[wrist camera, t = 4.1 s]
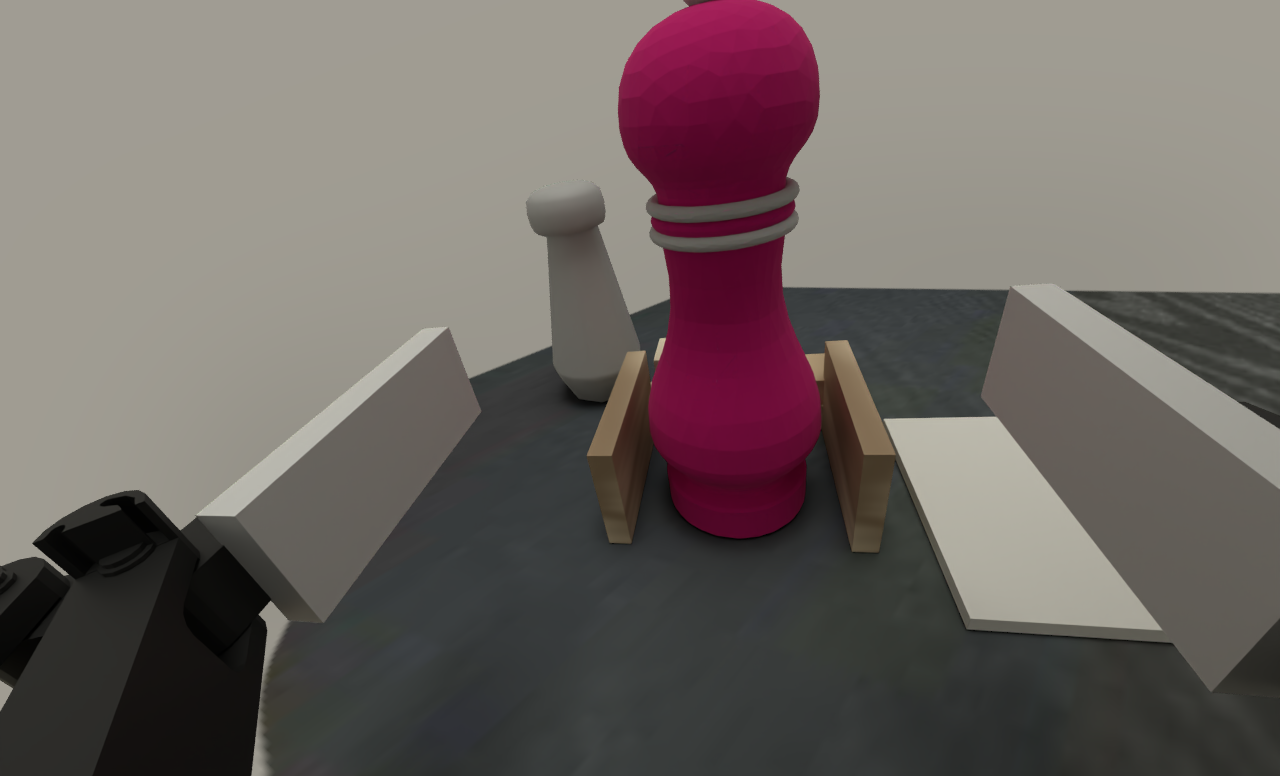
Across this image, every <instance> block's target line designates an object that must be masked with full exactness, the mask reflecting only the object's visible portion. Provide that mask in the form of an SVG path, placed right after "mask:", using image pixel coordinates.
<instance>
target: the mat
mask: <svg viewBox="0 0 1280 776" xmlns="http://www.w3.org/2000/svg"><path fill="white" fill-rule="evenodd" d="M883 426H884V428H885V430H886V433H887V435H888V437H889V440H890V442H891V444H892V447H893V449H894V451H895V454H896V457H895V459H896V462H897V464H898V467H899V469H900V471H901V474H902V476H903V479H904V481H905V483H906V486H907V488H908V491H909V493H910V495H911V498H912V500H913V502H914V505H915V507H916V510H917V512H918V514H919V517H920V519H921V522H922V524H923V526H924V529H925V531H926V533H927V536H928V538H929V541H930V543H931V545H932V548H933V550H934V553H935V555H936V557H937V560H938V562H939V565H940V567H941V569H942V572H943V574H944V576H945V579H946V581H947V584H948V586H949V588H950V591H951V593H952V596H953V598H954V600H955V603H956V605H957V608H958V610H959V612H960V615H961V617H962V619H963V622H964V624H965V627H966V629H969V630H985V631H1000V632H1015V633H1030V634H1045V635H1061V636H1076V637H1091V638H1106V639H1121V640H1137V641H1152V642H1167V643H1172V642H1171V640H1170V639H1169V638H1168V636H1167V635H1166V634H1165V633H1164V631H1163V630H1162V629H1161V627H1160V626H1159V625H1158V624H1157V622H1156V621H1155V620H1154V618H1153V617H1152V616H1151V615H1150V613H1149V612H1148V611H1147V609H1146V608H1145V607H1144V606H1143V604H1142V603H1141V602H1140V600H1139V599H1138V598H1137V597H1136V595H1135V594H1134V593H1133V591H1132V590H1131V589H1130V588H1129V586H1128V585H1127V584H1126V582H1125V581H1124V580H1123V579H1122V577H1121V576H1120V575H1119V573H1118V572H1117V571H1116V570H1115V568H1114V567H1113V566H1112V564H1111V563H1110V562H1109V561H1108V559H1107V558H1106V557H1105V555H1104V554H1103V553H1102V552H1101V550H1100V549H1099V548H1098V546H1097V545H1096V544H1095V543H1094V541H1093V540H1092V539H1091V537H1090V536H1089V535H1088V534H1087V532H1086V531H1085V530H1084V528H1083V527H1082V526H1081V525H1080V523H1079V522H1078V521H1077V519H1076V518H1075V517H1074V516H1073V514H1072V513H1071V512H1070V510H1069V509H1068V508H1067V507H1066V505H1065V504H1064V503H1063V501H1062V500H1061V499H1060V498H1059V496H1058V495H1057V494H1056V492H1055V491H1054V490H1053V489H1052V487H1051V486H1050V485H1049V483H1048V482H1047V481H1046V480H1045V478H1044V477H1043V476H1042V474H1041V473H1040V472H1039V471H1038V469H1037V468H1036V467H1035V465H1034V464H1033V463H1032V462H1031V460H1030V459H1029V458H1028V456H1027V455H1026V454H1025V453H1024V451H1023V450H1022V449H1021V447H1020V446H1019V445H1018V444H1017V442H1016V441H1015V440H1014V438H1013V437H1012V436H1011V435H1010V433H1009V432H1008V431H1007V429H1006V428H1005V427H1004V426H1003V424H1002V423H1001V422H1000V420H999V419H998V418H997V417H960V418H907V419H884V421H883Z"/></svg>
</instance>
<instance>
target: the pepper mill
mask: <svg viewBox="0 0 1280 776" xmlns="http://www.w3.org/2000/svg"><path fill="white" fill-rule="evenodd" d="M684 2H685V3H686V4H687V5H689V7H687V8H684V9H682V10H680V11H677V12H675V13H673V14H672V15H670V16H669V17H667V18H666V19H664V20H663V21H661V22H660V23H658V24H657V25H655V26H654V27H652V29H651V30H650V31H649V32H648V33H647V34H646V35H645V36H644V37H643V38H642V39H641V40H640V41H639V43H638V44H637V45H636V47H635V49H634V50H633V52H632V54H631V56H630V57H629V59H628V61H627V63H626V65H625V68H624V72H623V75H622V79H621V83H620V86H619V102H618V117H619V129H620V134H621V138H622V142H623V145H624V148H625V150H626V153H627V155H628V157H629V159H630V160H631V161H632V163H633V164H634V165H635V167H636V168H637V169H638V170H639V171H640V172H641V173H642V174H643V175H644V176H645V177H646V178H647V179H648V181H649V182H650V183H651V184H652V185H653V188H654V190H655V192H656V194H655V195H654V196H652V197H651V198H650V199H649V200H648V202H647V204H646V210H647V212H648V214H649V215H651V216H652V218H651V224H652V227H651V230H650V238H651V240H652V241H653V242H654V243H655V244H656V245H658V246H660V247H663V249H664V254H665V259H666V265H667V270H668V274H669V284H670V285H669V286H670V304H671V309H670V317H669V325H668V333H667V336H666V340H665V344H664V347H663V351H662V354H661V356H660V359H659V362H658V365H657V368H656V371H655V374H654V377H653V380H652V384H651V391H650V397H649V405H648V412H649V428H650V433H651V437H652V439H653V442H654V445H655V447H656V449H657V450H658V452H659V453H660V454H661V456H662V457H663V458H664V459H665V460H666V461H667V462H668V464H667V472H668V478H669V484H670V491H671V497H672V500H673V503H674V505H675V507H676V509H677V510H678V511H679V513H680V514H681V515H682V516H683V517H684V518H685V519H686V520H687V521H688V522H689V523H690V524H692V525H694V526H696V527H697V528H699V529H701V530H703V531H705V532H708V533H711V534H713V535H716V536H723V537H730V538H737V539H740V538H750V537H759V536H762V535H765V534H768V533H771V532H774V531H776V530H778V529H779V528H781V527H783V526H784V525H786V524H787V523H789V522H790V521H791V520H792V519H793V518H794V517H795V516H796V514H797V513H798V512H799V511H800V508H801V506H802V504H803V502H804V498H805V490H806V460H805V458H806V457H807V456H808V455H809V454H810V452H811V451H812V450H813V448H814V446H815V444H816V442H817V440H818V438H819V435H820V431H821V401H820V394H819V390H818V387H817V383H816V380H815V376H814V373H813V370H812V368H811V366H810V364H809V362H808V360H807V358H806V356H805V354H804V352H803V350H802V348H801V345H800V343H799V341H798V339H797V337H796V335H795V332H794V330H793V327H792V325H791V322H790V320H789V317H788V313H787V309H786V305H785V301H784V296H783V288H782V270H781V263H782V254H783V247H784V246H783V245H784V237H785V235H786V234H788V233H789V232H791V231H792V230H793V229H794V228H795V226H796V225H797V223H798V213H797V212H796V211H795V210H794V209H795V201H794V199H795V198H796V197H797V195H798V193H799V185H798V183H797V182H796V181H795V180H793V179H790V178H788V177H786V176H787V173H788V170H789V167H790V165H791V163H792V161H793V159H794V158H795V156H796V155H797V154H798V152H799V151H800V150H801V148H802V147H803V146H804V144H805V143H806V142H807V140H808V138H809V136H810V135H811V133H812V132H813V129H814V126H815V123H816V120H817V117H818V109H819V98H820V91H819V73H818V65H817V62H816V58H815V54H814V51H813V47H812V44H811V43H810V41H809V39H808V38H807V36H806V34H805V32H804V31H803V29H802V27H801V26H800V25H799V24H798V23H797V22H796V21H795V20H794V19H793V18H792V17H791V16H790V15H789V14H787V13H786V12H784V11H782V10H780V9H779V8H777V7H775V6H773V5H771V4H768V3H764V2H761V1H757V0H684Z"/></svg>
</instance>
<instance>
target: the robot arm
mask: <svg viewBox="0 0 1280 776" xmlns="http://www.w3.org/2000/svg"><path fill="white" fill-rule="evenodd" d="M981 397H982V399H983V400H984V401H985V402H986V404H987V405H988V406H989V408H990V409H991V410H992V411H993V413H994V414H995V415H996V417H997V418H998V419H999V420H1000V422H1001V423H1002V424H1003V426H1004V427H1005V428H1006V429H1007V431H1008V432H1009V433H1010V435H1011V436H1012V437H1013V438H1014V440H1015V441H1016V442H1017V444H1018V445H1019V446H1020V447H1021V449H1022V450H1023V451H1024V453H1025V454H1026V455H1027V456H1028V458H1029V459H1030V460H1031V462H1032V463H1033V464H1034V465H1035V467H1036V468H1037V469H1038V471H1039V472H1040V473H1041V474H1042V476H1043V477H1044V478H1045V480H1046V481H1047V482H1048V483H1049V485H1050V486H1051V487H1052V489H1053V490H1054V491H1055V492H1056V494H1057V495H1058V496H1059V498H1060V499H1061V500H1062V501H1063V503H1064V504H1065V505H1066V507H1067V508H1068V509H1069V510H1070V512H1071V513H1072V514H1073V516H1074V517H1075V518H1076V519H1077V521H1078V522H1079V523H1080V525H1081V526H1082V527H1083V528H1084V530H1085V531H1086V532H1087V534H1088V535H1089V536H1090V537H1091V539H1092V540H1093V541H1094V543H1095V544H1096V545H1097V546H1098V548H1099V549H1100V550H1101V552H1102V553H1103V554H1104V555H1105V557H1106V558H1107V559H1108V561H1109V562H1110V563H1111V564H1112V566H1113V567H1114V568H1115V570H1116V571H1117V572H1118V573H1119V575H1120V576H1121V577H1122V579H1123V580H1124V581H1125V582H1126V584H1127V585H1128V586H1129V588H1130V589H1131V590H1132V591H1133V593H1134V594H1135V595H1136V597H1137V598H1138V599H1139V600H1140V602H1141V603H1142V604H1143V606H1144V607H1145V608H1146V609H1147V611H1148V612H1149V613H1150V615H1151V616H1152V617H1153V618H1154V620H1155V621H1156V622H1157V624H1158V625H1159V626H1160V627H1161V629H1162V630H1163V631H1164V633H1165V634H1166V635H1167V636H1168V638H1169V639H1170V640H1171V642H1172V643H1173V644H1174V645H1175V647H1176V648H1177V649H1178V651H1179V652H1180V653H1181V654H1182V656H1183V657H1184V658H1185V660H1186V661H1187V662H1188V663H1189V665H1190V666H1191V667H1192V669H1193V670H1194V671H1195V672H1196V674H1197V675H1198V676H1199V678H1200V679H1201V680H1202V681H1203V683H1204V684H1205V685H1206V687H1207V688H1208V689H1209V690H1210V692H1212V693H1225V694H1237V695H1250V696H1263V697H1276V698H1280V416H1279V415H1276V414H1274V413H1271V412H1269V411H1266V410H1264V409H1261V408H1259V407H1256V406H1254V405H1251V404H1249V403H1246V402H1237V401H1235V400H1234V399H1232V398H1230V397H1229V396H1227V395H1226V394H1224V393H1223V392H1221V391H1220V390H1218V389H1216V388H1215V387H1213V386H1212V385H1210V384H1209V383H1207V382H1206V381H1204V380H1203V379H1201V378H1199V377H1198V376H1196V375H1195V374H1193V373H1192V372H1190V371H1189V370H1187V369H1185V368H1184V367H1182V366H1181V365H1179V364H1178V363H1176V362H1175V361H1173V360H1172V359H1170V358H1168V357H1167V356H1165V355H1164V354H1162V353H1161V352H1159V351H1158V350H1156V349H1154V348H1153V347H1151V346H1150V345H1148V344H1147V343H1145V342H1144V341H1142V340H1141V339H1139V338H1137V337H1136V336H1134V335H1133V334H1131V333H1130V332H1128V331H1127V330H1125V329H1123V328H1122V327H1120V326H1119V325H1117V324H1116V323H1114V322H1113V321H1111V320H1110V319H1108V318H1106V317H1105V316H1103V315H1102V314H1100V313H1099V312H1097V311H1096V310H1094V309H1092V308H1091V307H1089V306H1088V305H1086V304H1085V303H1083V302H1082V301H1080V300H1078V299H1077V298H1075V297H1074V296H1072V295H1071V294H1069V293H1068V292H1066V291H1065V290H1063V289H1061V288H1060V287H1058V286H1057V285H1055V284H1054V283H1047V284H1033V285H1019V286H1010V290H1009V293H1008V297H1007V301H1006V304H1005V308H1004V312H1003V316H1002V319H1001V323H1000V327H999V330H998V334H997V338H996V342H995V345H994V349H993V353H992V356H991V360H990V364H989V368H988V371H987V375H986V379H985V382H984V386H983V390H982V394H981ZM480 412H481V410H480V407H479V404H478V402H477V399H476V397H475V394H474V392H473V389H472V386H471V384H470V381H469V379H468V376H467V374H466V371H465V368H464V366H463V363H462V361H461V358H460V355H459V353H458V351H457V348H456V345H455V343H454V340H453V338H452V335H451V332H450V330H449V327H441V328H427V329H422V330H421V331H420V332H418V333H417V334H416V335H415V336H414V337H412V338H411V339H410V340H409V341H408V342H406V343H405V344H404V345H403V346H401V347H400V348H399V349H398V350H397V351H395V352H394V353H393V354H392V355H391V356H389V357H388V358H387V359H386V360H384V361H383V362H382V363H381V364H379V365H378V366H377V367H376V368H375V369H373V370H372V371H371V372H370V373H369V374H367V375H366V376H365V377H364V378H362V379H361V380H360V381H359V382H357V383H356V384H355V385H354V386H353V387H352V388H350V389H349V390H348V391H347V392H345V393H344V394H343V395H342V396H340V397H339V398H338V399H337V400H336V401H334V402H333V403H332V404H331V405H329V406H328V407H327V408H326V409H325V410H323V411H322V412H321V413H320V414H319V415H317V416H316V417H315V418H314V419H312V420H311V421H310V422H309V423H307V424H306V425H305V426H304V427H303V428H301V429H300V430H299V431H298V432H296V433H295V434H294V435H293V436H292V437H290V438H289V439H288V440H287V441H286V442H284V443H283V444H282V445H281V446H279V448H277V449H276V450H275V451H273V452H272V453H271V454H270V455H269V456H267V457H266V458H265V459H264V460H262V461H261V462H260V463H259V464H258V465H256V466H255V467H254V468H253V469H251V470H250V471H249V472H248V473H246V474H245V475H244V476H243V477H242V478H240V479H239V480H238V481H237V482H236V483H234V484H233V485H232V486H231V487H230V488H228V489H227V490H226V491H225V492H223V493H222V494H221V495H220V496H218V497H217V498H216V499H215V500H214V501H212V502H211V503H210V504H209V505H208V506H206V507H205V508H204V509H203V510H201V511H200V512H199V513H198V514H196V515H195V516H196V517H197V518H195V519H194V520H193V521H192V522H191V523H189V524H188V525H187V526H186V527H184V528H183V529H182V530H181V531H180V530H179V529H178V528H177V527H176V526H175V525H174V524H173V523H172V522H171V521H170V519H169V518H167V517H166V515H165V514H164V513H163V512H162V511H161V510H160V509H159V508H158V507H157V506H156V505H155V503H153V501H152V500H151V499H150V498H149V497H148V496H147V495H146V494H145V493H143V492H141V491H139V490H134V491H124V492H120V493H117V494H113V495H110V496H106V497H104V498H101V499H99V500H97V501H94V502H92V503H90V504H88V505H85V506H83V507H81V508H80V509H78V510H76V511H74V512H72V513H71V514H69V515H67V516H65V517H63V518H62V519H60V520H59V521H58V522H56V523H55V524H53V525H52V526H51V527H49V528H48V529H46V530H45V531H44V532H43V533H42V534H41V535H40V536H39V537H38V538H37V539H36V540H35V541H34V542H33V545H35V546H36V547H37V548H38V549H39V550H41V551H42V552H43V553H44V554H45V555H46V556H48V557H49V558H50V559H51V560H52V561H54V562H55V563H56V564H57V565H58V566H60V567H61V568H62V569H63V570H64V571H66V572H67V573H68V574H69V575H66V576H63V575H62V574H61V573H60V572H59V571H57V570H56V569H55V568H54V567H53V566H51V565H50V564H49V563H48V562H46V561H45V560H44V559H41V558H37V557H31V558H26V559H20V560H17V561H15V562H12V563H9V564H6V565H4V566H0V680H1V681H2V682H4V683H5V684H7V685H9V686H10V687H12V688H13V690H12V692H11V694H10V695H9V697H8V699H7V701H6V703H5V704H4V706H3V708H2V710H1V711H0V776H251V773H252V764H253V755H254V746H255V737H256V728H257V719H258V710H259V700H260V691H261V682H262V673H263V664H264V655H265V645H266V636H267V627H266V622H265V621H264V620H263V619H262V618H261V617H260V616H259V615H258V614H259V613H260V612H261V611H262V610H263V609H264V607H265V606H266V605H267V604H268V603H269V602H270V601H272V602H273V603H274V604H275V605H276V607H277V608H278V609H279V610H280V611H281V612H282V613H283V614H284V616H285V617H286V618H287V619H288V620H290V621H303V622H316V623H324V622H325V620H326V619H327V618H328V616H329V615H330V614H331V612H332V611H333V610H334V608H335V607H336V606H337V604H338V603H339V602H340V600H341V599H342V598H343V596H344V595H345V594H346V592H347V591H348V589H349V588H350V587H351V585H352V584H353V583H354V581H355V580H356V579H357V577H358V576H359V575H360V573H361V572H362V571H363V569H364V568H365V567H366V565H367V564H368V563H369V561H370V560H371V559H372V557H373V556H374V555H375V553H376V552H377V551H378V549H379V548H380V547H381V545H382V544H383V543H384V541H385V540H386V539H387V537H388V536H389V535H390V533H391V532H392V530H393V529H394V528H395V526H396V525H397V524H398V522H399V521H400V520H401V518H402V517H403V516H404V514H405V513H406V512H407V510H408V509H409V508H410V506H411V505H412V504H413V502H414V501H415V500H416V498H417V497H418V496H419V494H420V493H421V492H422V490H423V489H424V488H425V486H426V485H427V484H428V482H429V481H430V480H431V478H432V477H433V475H434V474H435V473H436V471H437V470H438V469H439V467H440V466H441V465H442V463H443V462H444V461H445V459H446V458H447V457H448V455H449V454H450V453H451V451H452V450H453V449H454V447H455V446H456V445H457V443H458V442H459V441H460V439H461V438H462V437H463V435H464V434H465V433H466V431H467V430H468V429H469V427H470V426H471V425H472V423H473V422H474V421H475V419H476V418H477V416H478V415H479V414H480Z"/></svg>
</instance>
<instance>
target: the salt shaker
mask: <svg viewBox="0 0 1280 776" xmlns="http://www.w3.org/2000/svg"><path fill="white" fill-rule="evenodd" d="M526 205H527V216H528V219H529V221H530V224H531V227H532V229H533V230H534V232H535V233H537V234H538V235H541V236H545V237H547V247H548V264H549V284H550V285H549V286H550V306H551V328H552V348H553V365H554V367H555V369H556V371H557V373H558V374H559V376H560V377H561V379H562V380H563V381H564V382H565V383H566V385H567V386H568V387H569V388H570V389H571V390H572V392H573V393H574V394H575V395H576V396H577V397H578V399H583V400H589V401H596V402H605V401H607V400H609V397H610V395H611V392H612V390H613V387H614V385H615V382H616V380H617V377H618V374H619V372H620V369H621V367H622V364H623V362H624V359H625V356H626V354H627V352H633V351H640V343H639V341H638V338H637V335H636V332H635V329H634V326H633V324H632V321H631V318H630V315H629V313H628V310H627V307H626V304H625V301H624V299H623V295H622V293H621V290H620V287H619V284H618V281H617V279H616V276H615V273H614V270H613V267H612V264H611V262H610V259H609V256H608V253H607V250H606V248H605V245H604V242H603V239H602V236H601V234H600V231H599V228H598V225H599V224H601V223H602V222H604V219H605V205H604V199H603V196H602V193H601V190H600V188H599V187H598V186H597V185H595V184H594V183H593V182H589V181H584V180H572V181H564V182H559V183H554V184H550V185H546V186H544V187H541V188H539V189H537V190H535V191H534V192H533V193H532V194H531V195H530V197H529V198H528V200H527V202H526Z"/></svg>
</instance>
